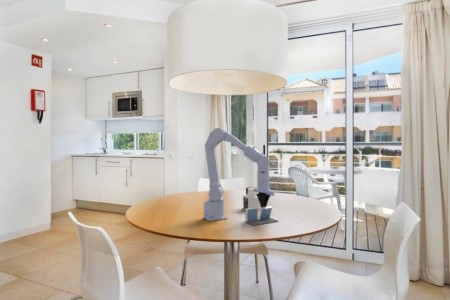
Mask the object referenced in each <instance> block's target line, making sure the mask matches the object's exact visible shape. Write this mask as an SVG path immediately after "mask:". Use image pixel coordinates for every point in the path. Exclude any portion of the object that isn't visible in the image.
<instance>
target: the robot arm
mask: <svg viewBox="0 0 450 300" xmlns="http://www.w3.org/2000/svg"><path fill="white" fill-rule="evenodd" d="M221 142H227V143H231V144H232V145H233V146H235V147H237V148H238V149H240V150H241V151H242V152H243V156H244V157H246V158H247V159H248V160H250V161H251V162H253V163H256V165H257V172H256V173H257V175H256V176H257V177H256V178H257V179H256V183H257V187H254V188H253V192H257V194H256V196H257V197H258V200H259V202H260V207H267V206H268V202H269V199H270V198H271V197H273V196H275V191H273V190H272V189H271V188H270V167H269V166H270V159H269V157H267V156H266V155H264V153H263V152H260V151H259V150H258V149H256V147H255V146H254V145H253V146H252V145H246V144H245V143H243V142H242V141H241V140H239V138H237V137H236V136H235V135H233V134H231V133H229V132H228V131H225V130H224V129H222V128H220V127H216V128H214V129H212V130H211V132H210V133H209V134H208V138H207V140H206V142H205V145H204V149H205V158H206V166H207V171H208V178H209V189H208V190H209V191H208V200H207V201H204V202H203V217H202V218H203V219H205V220H207V221H209V222H214V221H218V220H226V219H228V217H227V216H224V215H225V213H224V211H225V210H224V209H225V207H224V203H225V202H224V200H225V199H224V198H223V195H224V188H223V186H222V185H221V180H220V176H219V168H218V162H217V154H216V148H217V146H218V145H219V144H220V143H221Z"/></svg>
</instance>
